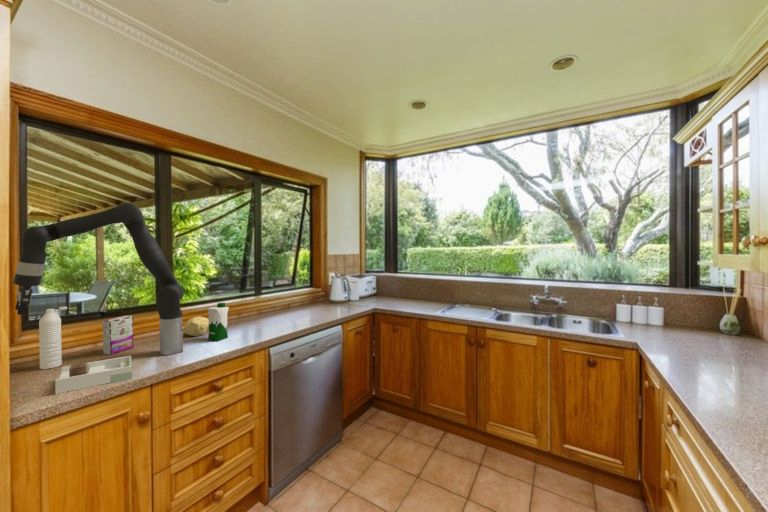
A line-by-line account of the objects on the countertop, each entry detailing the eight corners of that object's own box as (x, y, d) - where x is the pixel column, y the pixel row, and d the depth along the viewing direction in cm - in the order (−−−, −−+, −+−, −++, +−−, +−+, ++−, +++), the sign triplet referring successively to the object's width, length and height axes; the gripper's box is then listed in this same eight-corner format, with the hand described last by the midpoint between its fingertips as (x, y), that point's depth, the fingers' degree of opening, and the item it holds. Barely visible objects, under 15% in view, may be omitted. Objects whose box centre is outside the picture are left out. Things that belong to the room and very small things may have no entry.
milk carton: (230, 337, 179) (230, 303, 178) (216, 342, 171) (216, 306, 170) (219, 335, 182) (219, 301, 182) (205, 340, 174) (205, 304, 173)
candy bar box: (125, 346, 160) (125, 315, 160) (133, 347, 159) (133, 315, 159) (102, 354, 149) (101, 320, 149) (110, 355, 148) (110, 321, 148)
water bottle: (44, 370, 129) (43, 311, 128) (36, 368, 132) (35, 309, 131) (71, 363, 137) (71, 307, 137) (63, 361, 140) (62, 305, 139)
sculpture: (198, 338, 177) (198, 319, 177) (179, 336, 179) (179, 318, 178) (212, 332, 188) (212, 315, 188) (194, 331, 190) (194, 314, 190)
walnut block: (87, 373, 120) (87, 362, 120) (86, 377, 117) (86, 366, 116) (70, 376, 117) (70, 365, 117) (69, 381, 114) (69, 369, 113)
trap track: (131, 367, 135) (131, 355, 135) (132, 378, 123) (131, 366, 123) (62, 379, 121) (61, 367, 121) (55, 394, 110) (55, 380, 110)
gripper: (45, 277, 128) (35, 316, 127) (40, 271, 136) (31, 308, 136) (17, 275, 122) (7, 316, 121) (14, 269, 130) (4, 308, 130)
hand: (19, 312), depth 128 cm, fingers open, 8 cm apart
